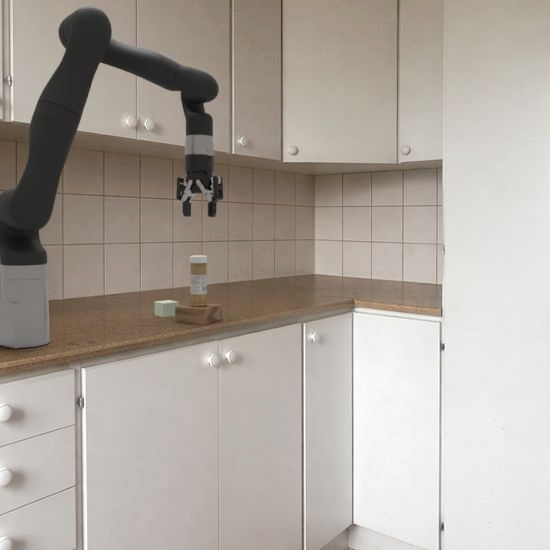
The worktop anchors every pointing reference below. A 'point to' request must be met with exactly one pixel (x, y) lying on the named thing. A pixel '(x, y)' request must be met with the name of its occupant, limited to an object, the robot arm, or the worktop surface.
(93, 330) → the worktop surface
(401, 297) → the worktop surface
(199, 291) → the sprinkles bottle
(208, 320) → the walnut block
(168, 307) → the sage block
